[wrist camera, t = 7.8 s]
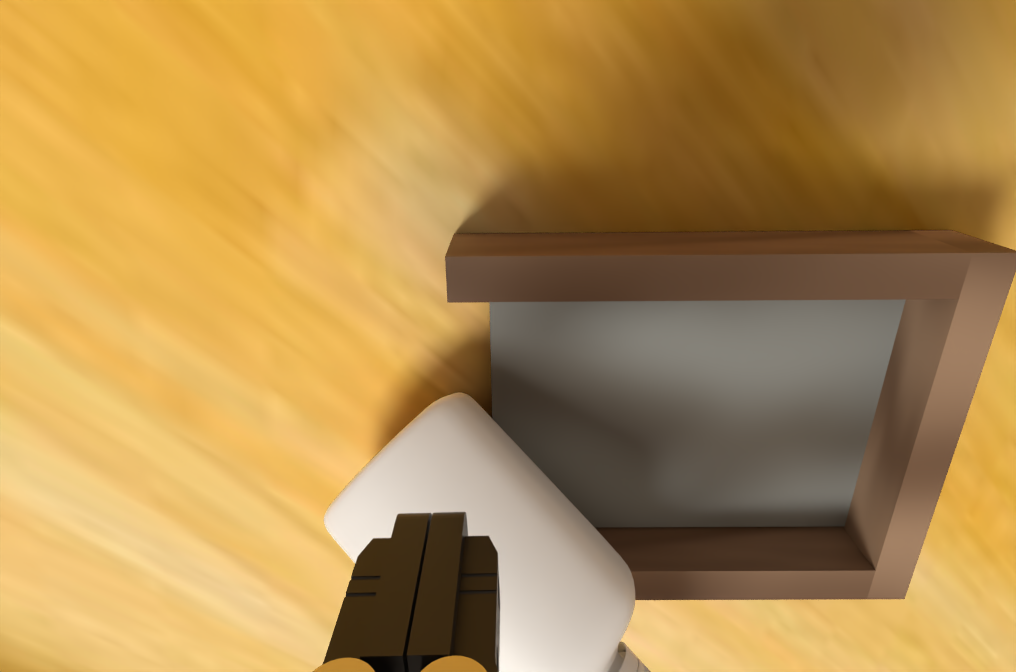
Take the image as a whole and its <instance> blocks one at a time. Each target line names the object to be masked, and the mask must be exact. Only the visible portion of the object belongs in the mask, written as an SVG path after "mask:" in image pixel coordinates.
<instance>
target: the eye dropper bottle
mask: <svg viewBox="0 0 1016 672" xmlns="http://www.w3.org/2000/svg"><path fill="white" fill-rule="evenodd" d="M435 512H466V515H467V527H468V536H489V537H490V539H491V541H492V543H493V545H494V547H495V548H496V550H497V552H498V566H499V587H500V644H499V646H500V651H499V672H650V671H649V670H648V668H647V667H646V666H645V665H644V664H643V663H642V662H641V661H640V660H639V659H638V658H637V657H636V655H635V654H634V653H633V652H632V651H631V650H630V649H629V648H628V647H627V646H626V645H625V643H623V642H620V640H621V638H622V637H623V635H624V633H625V631H626V629H627V627H628V624H629V622H630V620H631V617H632V614H633V610H634V605H635V586H634V580H633V577H632V574H631V571H630V569H629V567H628V565H627V564H626V563H625V561H624V560H623V559H622V557H621V556H620V555H619V554H618V553H617V552H616V551H615V549H614V548H613V547H612V546H611V545H610V544H609V543H608V542H607V541H606V540H605V538H604V537H603V536H602V535H601V534H600V533H599V532H598V531H597V530H596V528H595V527H594V526H593V525H592V524H591V523H590V522H589V521H588V520H587V519H586V518H585V517H584V516H583V515H582V514H581V512H580V511H579V510H578V509H577V508H576V507H575V506H574V505H573V504H572V503H571V502H570V501H569V500H568V499H567V497H566V496H565V495H564V494H563V493H562V492H561V491H560V490H559V489H558V488H557V487H556V486H555V485H554V484H553V483H552V481H551V480H550V479H549V478H548V477H547V476H546V475H545V474H544V473H543V472H542V471H541V470H540V469H539V468H538V467H537V466H536V464H535V463H534V462H533V461H532V460H531V459H530V458H529V457H528V456H527V455H526V454H525V453H524V452H523V451H522V450H521V449H520V447H519V446H518V445H517V444H516V443H515V442H514V441H513V440H512V439H511V438H510V437H509V436H508V435H507V434H506V433H505V432H504V431H503V429H502V428H501V427H500V426H499V425H498V424H497V423H496V422H495V421H494V420H493V419H492V418H491V417H490V416H489V415H488V414H487V413H486V411H485V410H484V409H483V408H482V407H481V406H480V405H479V404H478V403H477V402H476V401H475V400H474V399H473V398H472V397H471V396H469V395H468V394H465V393H461V392H459V393H454V394H450V395H447V396H444V397H442V398H440V399H438V400H436V401H435V402H433V403H432V404H430V405H429V406H428V407H427V408H426V409H424V410H423V411H422V412H421V413H420V414H419V415H418V416H417V417H416V418H414V419H413V420H412V421H411V422H410V423H409V424H408V425H407V426H406V427H405V428H404V429H402V430H401V431H400V432H399V433H398V434H397V435H396V436H395V437H394V438H393V439H392V440H391V441H390V442H389V443H388V444H387V445H386V446H385V447H383V448H382V449H381V450H380V451H379V452H378V453H377V454H376V455H375V456H374V457H373V458H372V459H371V460H370V461H369V462H368V463H367V464H366V465H365V466H364V468H363V469H362V470H361V471H360V472H359V473H358V474H357V475H356V476H355V477H354V478H353V479H352V480H351V481H350V482H349V483H348V485H347V486H346V487H345V488H344V489H343V490H342V491H341V492H340V494H339V495H338V496H337V497H336V498H335V499H334V501H333V502H332V503H331V504H330V506H329V507H328V509H327V511H326V513H325V516H324V523H325V527H326V529H327V531H328V532H329V533H330V535H331V536H332V537H333V538H334V539H335V541H336V542H337V543H338V544H339V545H340V546H341V548H342V549H343V550H344V551H345V552H346V553H347V555H348V556H349V557H350V558H351V559H352V560H353V562H354V563H355V564H356V560H357V557H358V555H359V554H360V553H361V552H362V551H363V550H364V548H365V547H366V546H367V545H368V544H369V543H370V541H371V540H372V539H373V538H391V535H392V532H393V528H394V524H395V520H396V517H397V515H398V514H399V513H431V514H433V513H435Z"/></svg>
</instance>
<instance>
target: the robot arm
mask: <svg viewBox="0 0 1016 672" xmlns="http://www.w3.org/2000/svg"><path fill="white" fill-rule="evenodd" d="M499 644H500V587H499V566H498V552H497V550H496V548H495V547H494V545H493V543H492V541H491V539H490V537H489V536H468V527H467V515H466V512H435V513H433V514H431V513H399V514H398V515H397V517H396V520H395V524H394V528H393V532H392V535H391V538H373V539H372V540H371V541H370V543H369V544H368V545H367V546H366V547H365V548H364V550H363V551H362V552H361V553H360V554H359V555H358V557H357V560H356V564H355V567H354V570H353V573H352V576H351V580H350V582H349V585H348V588H347V591H346V597H345V598H344V601H343V604H342V607H341V610H340V613H339V616H338V619H337V622H336V625H335V629H334V632H333V635H332V638H331V641H330V644H329V647H328V650H327V653H326V656H325V660H324V662H323V664H322V665H321V666H320V667H318V668H317V669H315V670H314V671H313V672H499V651H500V646H499Z"/></svg>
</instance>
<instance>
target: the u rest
mask: <svg viewBox="0 0 1016 672" xmlns="http://www.w3.org/2000/svg"><path fill="white" fill-rule="evenodd" d="M445 261H446V281H447V301H448V302H490V343H491V390H492V419H493V420H494V421H495V422H496V423H497V424H498V425H499V426H500V427H501V428H502V429H503V431H504V432H505V433H506V434H507V435H508V436H509V437H510V438H511V439H512V440H513V441H514V442H515V443H516V444H517V445H518V446H519V447H520V449H521V450H522V451H523V452H524V453H525V454H526V455H527V456H528V457H529V458H530V459H531V460H532V461H533V462H534V463H535V464H536V466H537V467H538V468H539V469H540V470H541V471H542V472H543V473H544V474H545V475H546V476H547V477H548V478H549V479H550V480H551V481H552V483H553V484H554V485H555V486H556V487H557V488H558V489H559V490H560V491H561V492H562V493H563V494H564V495H565V496H566V497H567V499H568V500H569V501H570V502H571V503H572V504H573V505H574V506H575V507H576V508H577V509H578V510H579V511H580V512H581V514H582V515H583V516H584V517H585V518H586V519H587V520H588V521H589V522H590V523H591V524H592V525H593V526H594V527H595V528H596V530H597V531H598V532H599V533H600V534H601V535H602V536H603V537H604V538H605V540H606V541H607V542H608V543H609V544H610V545H611V546H612V547H613V548H614V549H615V551H616V552H617V553H618V554H619V555H620V556H621V557H622V559H623V560H624V561H625V563H626V564H627V565H628V567H629V569H630V571H631V574H632V577H633V580H634V586H635V600H777V599H905V596H906V593H907V590H908V587H909V584H910V581H911V578H912V575H913V572H914V569H915V566H916V563H917V560H918V557H919V555H920V552H921V549H922V546H923V543H924V540H925V537H926V534H927V531H928V528H929V525H930V522H931V519H932V516H933V513H934V510H935V507H936V504H937V501H938V499H939V496H940V493H941V490H942V487H943V484H944V481H945V478H946V475H947V472H948V469H949V466H950V463H951V460H952V457H953V454H954V451H955V448H956V446H957V443H958V440H959V437H960V434H961V431H962V428H963V425H964V422H965V419H966V416H967V413H968V410H969V407H970V404H971V401H972V398H973V395H974V392H975V390H976V387H977V384H978V381H979V378H980V375H981V372H982V369H983V366H984V363H985V360H986V357H987V354H988V351H989V348H990V345H991V342H992V339H993V337H994V334H995V331H996V328H997V325H998V322H999V319H1000V316H1001V313H1002V310H1003V307H1004V304H1005V301H1006V298H1007V295H1008V292H1009V289H1010V286H1011V283H1012V281H1013V278H1014V275H1015V272H1016V251H1015V250H1012V249H1009V248H1006V247H1003V246H1000V245H996V244H993V243H990V242H987V241H984V240H981V239H978V238H975V237H972V236H969V235H965V234H962V233H959V232H956V231H953V230H893V231H752V232H611V233H470V234H454V235H453V238H452V240H451V243H450V246H449V248H448V251H447V253H446V256H445Z"/></svg>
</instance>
